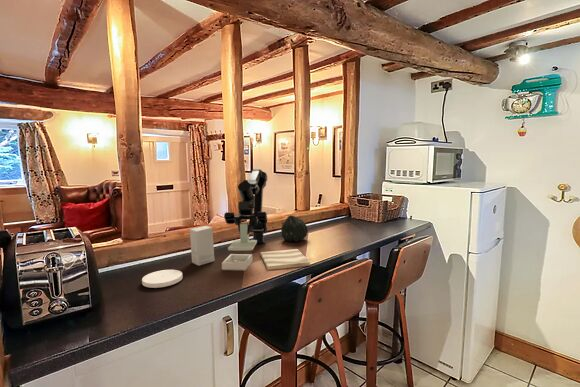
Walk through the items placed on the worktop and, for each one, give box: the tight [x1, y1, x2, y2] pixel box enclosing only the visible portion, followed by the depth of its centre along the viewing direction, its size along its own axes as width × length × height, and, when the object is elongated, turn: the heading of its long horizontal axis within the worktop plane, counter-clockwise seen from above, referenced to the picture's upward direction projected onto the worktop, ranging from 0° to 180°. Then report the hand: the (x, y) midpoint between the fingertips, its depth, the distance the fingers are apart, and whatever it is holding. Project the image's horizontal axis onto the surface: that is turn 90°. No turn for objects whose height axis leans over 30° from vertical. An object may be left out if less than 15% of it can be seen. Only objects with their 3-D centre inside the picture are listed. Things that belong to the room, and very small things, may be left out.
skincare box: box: [189, 225, 216, 266], centre depth 137 cm, size 8×7×16 cm
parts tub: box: [221, 253, 254, 271], centre depth 133 cm, size 12×10×3 cm
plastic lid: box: [141, 269, 183, 289], centre depth 116 cm, size 14×14×2 cm
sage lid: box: [227, 221, 257, 252], centre depth 132 cm, size 12×10×10 cm
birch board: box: [260, 248, 311, 271], centre depth 138 cm, size 20×18×2 cm
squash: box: [280, 214, 309, 243], centre depth 172 cm, size 14×15×15 cm
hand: (244, 234), depth 134 cm, fingers closed on sage lid, 3 cm apart
